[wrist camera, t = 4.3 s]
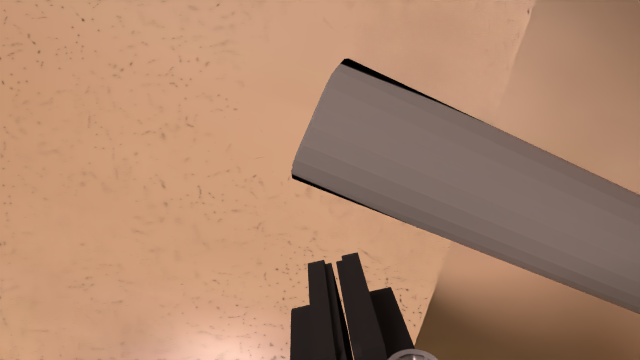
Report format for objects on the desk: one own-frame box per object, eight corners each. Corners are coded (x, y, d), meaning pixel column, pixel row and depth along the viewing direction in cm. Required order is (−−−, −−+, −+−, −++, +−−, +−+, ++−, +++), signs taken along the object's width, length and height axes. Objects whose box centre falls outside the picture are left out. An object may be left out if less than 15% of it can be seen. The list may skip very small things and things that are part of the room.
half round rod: (711, 341, 16) (761, 377, 14) (281, 173, 12) (279, 194, 10) (789, 260, 14) (853, 289, 13) (336, 46, 11) (343, 46, 9)
